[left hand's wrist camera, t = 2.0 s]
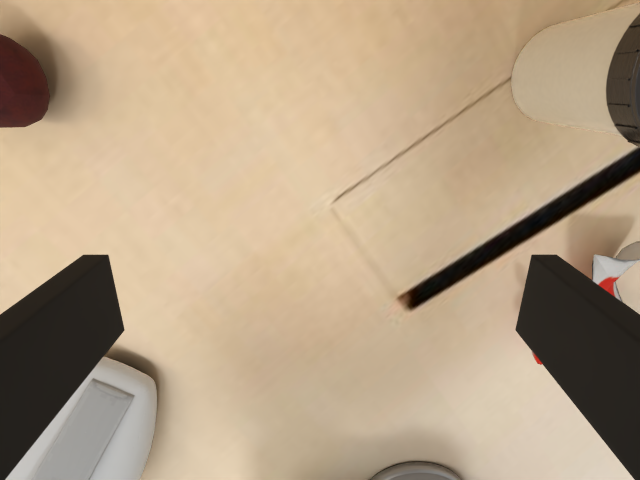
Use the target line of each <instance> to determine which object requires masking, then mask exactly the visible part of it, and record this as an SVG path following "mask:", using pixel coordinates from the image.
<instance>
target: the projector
mask: <svg viewBox="0 0 640 480" xmlns="http://www.w3.org/2000/svg"><path fill="white" fill-rule="evenodd" d="M156 413H157V390H156V385H155V382H154V380H153V379H152V378H151V377H150V376H148V375H147V374H144V373H142V372H140V371H138V370H136V369H134V368H132V367H130V366H128V365H126V364H123V363H121V362H118V361H115V360H112V359H110V358H108V357H103V358H102V359H101V360H100V361H99V363H98V364H97V365H96V366H95V368H94V369H93V370H92V371H91V373H90V374H89V375H88V376H87V378H86V379H85V380H84V381H83V383H82V384H81V385H80V386H79V388H78V389H77V390H76V392H75V393H74V394H73V395H72V397H71V398H70V399H69V400H68V402H67V403H66V404H65V405H64V407H63V408H62V409H61V410H60V412H59V413H58V414H57V415H56V417H55V418H54V419H53V420H52V422H51V423H50V424H49V425H48V427H47V428H46V429H45V430H44V432H43V433H42V434H41V435H40V437H39V438H38V439H37V440H36V442H35V443H34V444H33V445H32V447H31V448H30V449H29V450H28V452H27V453H26V454H25V455H24V457H23V458H22V459H21V461H20V462H19V463H18V464H17V466H16V467H15V468H14V469H13V471H12V472H11V473H10V474H9V476H8V477H7V478H6V479H5V480H140V478H141V476H142V473H143V471H144V468H145V465H146V462H147V459H148V456H149V453H150V449H151V446H152V441H153V436H154V430H155V423H156Z"/></svg>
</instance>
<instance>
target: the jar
mask: <svg viewBox="0 0 640 480" xmlns="http://www.w3.org/2000/svg"><path fill="white" fill-rule="evenodd" d="M639 13H640V2H638V3H634V4H631V5H627V6H623V7H619V8H615V9H611V10H607V11H603V12H600V13H596V14H592V15H588V16H584V17H580V18H576V19H573V20H569V21H565V22H561V23H557V24H554V25H551V26H549V27H547V28H545V29H543V30H542V31H540V32H539V33H537V34H536V35H535V36H534V37H532V38H531V39H530V40H529V41H528V42H527V44H526V45H525V46H524V47H523V49H522V50H521V52H520V54H519V55H518V58H517V60H516V62H515V65H514V67H513V72H512V78H511V89H512V95H513V98H514V101H515V103H516V105H517V107H518V108H519V109H520V111H521V112H522V113H523V114H524V115H526V116H527V117H528V118H530V119H532V120H534V121H537V122H541V123H547V124H553V125H559V126H565V127H571V128H576V129H582V130H588V131H594V132H600V133H606V134H612V135H618V136H622V135H621V133H620V132H619V131H618V130H617V128H616V127H615V126H614V123H613V122H612V120H611V117H610V114H609V111H608V107H607V102H606V81H607V75H608V70H609V66H610V63H611V60H612V57H613V54H614V52H615V50H616V48H617V45H618V43H619V42H620V40H621V38H622V36H623V34H624V33H625V31H626V30H627V29H628V26H629V25H630V24H631V23H632V22H633V20H634V19H635V18H636V17H637V16H638V15H639Z"/></svg>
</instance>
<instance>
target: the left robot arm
mask: <svg viewBox="0 0 640 480" xmlns="http://www.w3.org/2000/svg"><path fill="white" fill-rule="evenodd" d="M123 331H124V326H123V321H122V316H121V312H120V307H119V302H118V298H117V293H116V289H115V284H114V279H113V275H112V270H111V265H110V261H109V256H108V255H83V256H81V257H80V258H78V259H77V260H76V261H74V262H73V263H71V264H70V265H69V266H67V267H66V268H65V269H63V270H62V271H60V272H59V273H58V274H56V275H55V276H53V277H52V278H51V279H49V280H48V281H46V282H45V283H44V284H42V285H41V286H39V287H38V288H37V289H35V290H34V291H33V292H31V293H30V294H28V295H27V296H26V297H24V298H23V299H21V300H20V301H19V302H17V303H16V304H14V305H13V306H12V307H10V308H9V309H7V310H6V311H5V312H3V313H2V314H1V315H0V480H5V479H6V478H7V477H8V476H9V474H10V473H11V472H12V471H13V469H14V468H15V467H16V466H17V464H18V463H19V462H20V461H21V459H22V458H23V457H24V455H25V454H26V453H27V452H28V450H29V449H30V448H31V447H32V445H33V444H34V443H35V442H36V440H37V439H38V438H39V437H40V435H41V434H42V433H43V432H44V430H45V429H46V428H47V427H48V425H49V424H50V423H51V422H52V420H53V419H54V418H55V417H56V415H57V414H58V413H59V412H60V410H61V409H62V408H63V407H64V405H65V404H66V403H67V402H68V400H69V399H70V398H71V397H72V395H73V394H74V393H75V392H76V390H77V389H78V388H79V386H80V385H81V384H82V383H83V381H84V380H85V379H86V378H87V376H88V375H89V374H90V373H91V371H92V370H93V369H94V368H95V366H96V365H97V364H98V363H99V361H100V360H101V359H102V358H103V356H104V355H105V354H106V353H107V351H108V350H109V349H110V348H111V346H112V345H113V344H114V343H115V341H116V340H117V339H118V338H119V336H120V335H121V334H122V333H123ZM516 331H517V333H518V334H519V335H520V336H521V338H522V339H523V340H524V341H525V343H526V344H527V345H528V346H529V348H530V349H531V350H532V351H533V353H534V354H535V355H536V356H537V358H538V359H539V360H540V361H541V363H542V364H543V365H544V366H545V368H546V369H547V370H548V371H549V373H550V374H551V375H552V376H553V378H554V379H555V380H556V381H557V383H558V384H559V385H560V387H561V388H562V389H563V390H564V392H565V393H566V394H567V395H568V397H569V398H570V399H571V400H572V402H573V403H574V404H575V405H576V407H577V408H578V409H579V410H580V412H581V413H582V414H583V415H584V417H585V418H586V419H587V420H588V422H589V423H590V424H591V425H592V427H593V428H594V429H595V430H596V432H597V433H598V434H599V435H600V437H601V438H602V439H603V440H604V442H605V443H606V444H607V445H608V447H609V448H610V449H611V450H612V452H613V453H614V454H615V455H616V457H617V458H618V459H619V461H620V462H621V463H622V464H623V466H624V467H625V468H626V469H627V471H628V472H629V473H630V474H631V476H632V477H633V478H634V479H635V480H640V315H639V314H638V313H637V312H635V311H634V310H633V309H631V308H630V307H628V306H627V305H626V304H624V303H623V302H621V301H620V300H619V299H617V298H616V297H614V296H613V295H612V294H610V293H609V292H607V291H606V290H605V289H603V288H602V287H601V286H599V285H598V284H596V283H595V282H594V281H592V280H591V279H589V278H588V277H587V276H585V275H584V274H582V273H581V272H580V271H578V270H577V269H575V268H574V267H573V266H571V265H570V264H569V263H567V262H566V261H564V260H563V259H562V258H560V257H559V256H557V255H532V256H531V261H530V265H529V270H528V275H527V279H526V284H525V289H524V293H523V298H522V302H521V307H520V312H519V316H518V321H517V326H516ZM370 480H461V479H460V478H459V476H457V475H456V474H455V473H454V472H452V471H451V470H449V469H447V468H445V467H443V466H440V465H437V464H432V463H426V462H410V463H403V464H399V465H395V466H392V467H390V468H387V469H385V470H383V471H381V472H380V473H378V474H377V475H375V476H374V477H373V478H372V479H370Z"/></svg>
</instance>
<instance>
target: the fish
mask: <svg viewBox="0 0 640 480" xmlns="http://www.w3.org/2000/svg"><path fill="white" fill-rule="evenodd" d="M638 261H640V241H637V242H635V243H632V244H630V245H628V246H627V247H625V248H623V249H622V250H621V251H620V252H619V254H618V255H617V256H616V258H611V257H606V256H600V255H595V254H594V258H593V263H592V281H594V282H595V283H596V284H598V285H599V286H601V287H602V288H603V289H605V290H606V291H607V292H609V293H610V294H612V295H613V296H614V297H616V298H617V299H619V300H620V301H621V302H622V300H621V297H620V295H619V293H618V289H617V286H616V283H615V281H616V280H617V279H618V278H619V277H620V276H621V275H622V274H623V273H624V272H625V271H626V270H627V269H628V268H630V267H631V266H632V265H634V264H635V263H636V262H638ZM532 354H533V356H534V358H535V360H536V362H537V363H538V364H540V365H541V364H542V363H541V361H540V360H539V359H538V358H537V356H536V355H535V354H534V353H533V351H532Z"/></svg>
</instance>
